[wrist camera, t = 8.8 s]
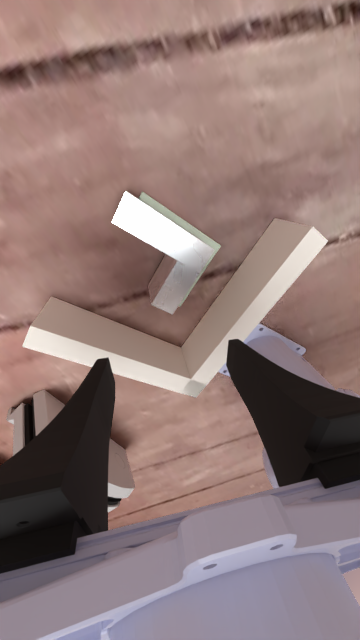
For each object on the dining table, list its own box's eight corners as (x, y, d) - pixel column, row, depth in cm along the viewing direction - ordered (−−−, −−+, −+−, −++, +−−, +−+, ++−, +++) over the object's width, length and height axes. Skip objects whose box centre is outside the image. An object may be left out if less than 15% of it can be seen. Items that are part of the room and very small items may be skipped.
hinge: (5, 407, 25) (-16, 491, 17) (42, 380, 26) (39, 446, 18) (97, 464, 34) (113, 536, 26) (123, 441, 35) (145, 505, 27)
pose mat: (220, 245, 20) (221, 245, 20) (180, 305, 23) (180, 306, 23) (141, 191, 17) (142, 191, 17) (104, 268, 20) (104, 269, 19)
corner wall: (288, 230, 21) (328, 241, 17) (185, 364, 27) (195, 397, 23) (133, 94, 14) (134, 56, 10) (44, 313, 21) (22, 346, 16)
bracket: (95, 259, 19) (87, 275, 15) (126, 190, 17) (125, 191, 13) (165, 294, 22) (172, 314, 18) (200, 239, 20) (214, 250, 16)
